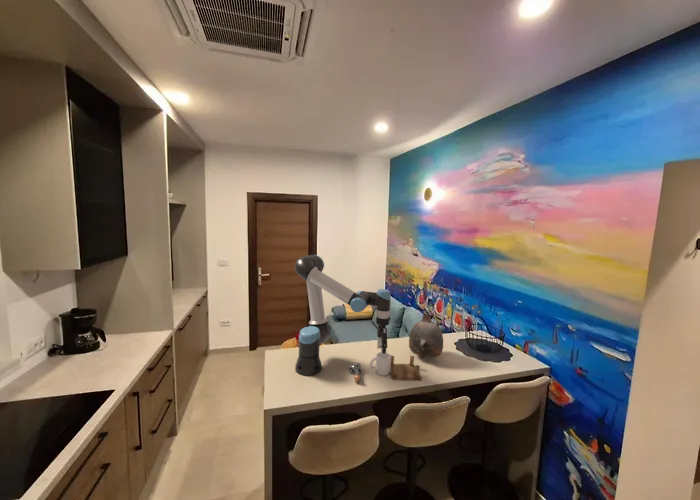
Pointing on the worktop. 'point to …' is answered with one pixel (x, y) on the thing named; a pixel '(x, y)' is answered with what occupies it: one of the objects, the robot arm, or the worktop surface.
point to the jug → (426, 338)
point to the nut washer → (354, 372)
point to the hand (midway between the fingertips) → (381, 353)
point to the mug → (382, 364)
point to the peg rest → (405, 370)
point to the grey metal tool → (356, 370)
